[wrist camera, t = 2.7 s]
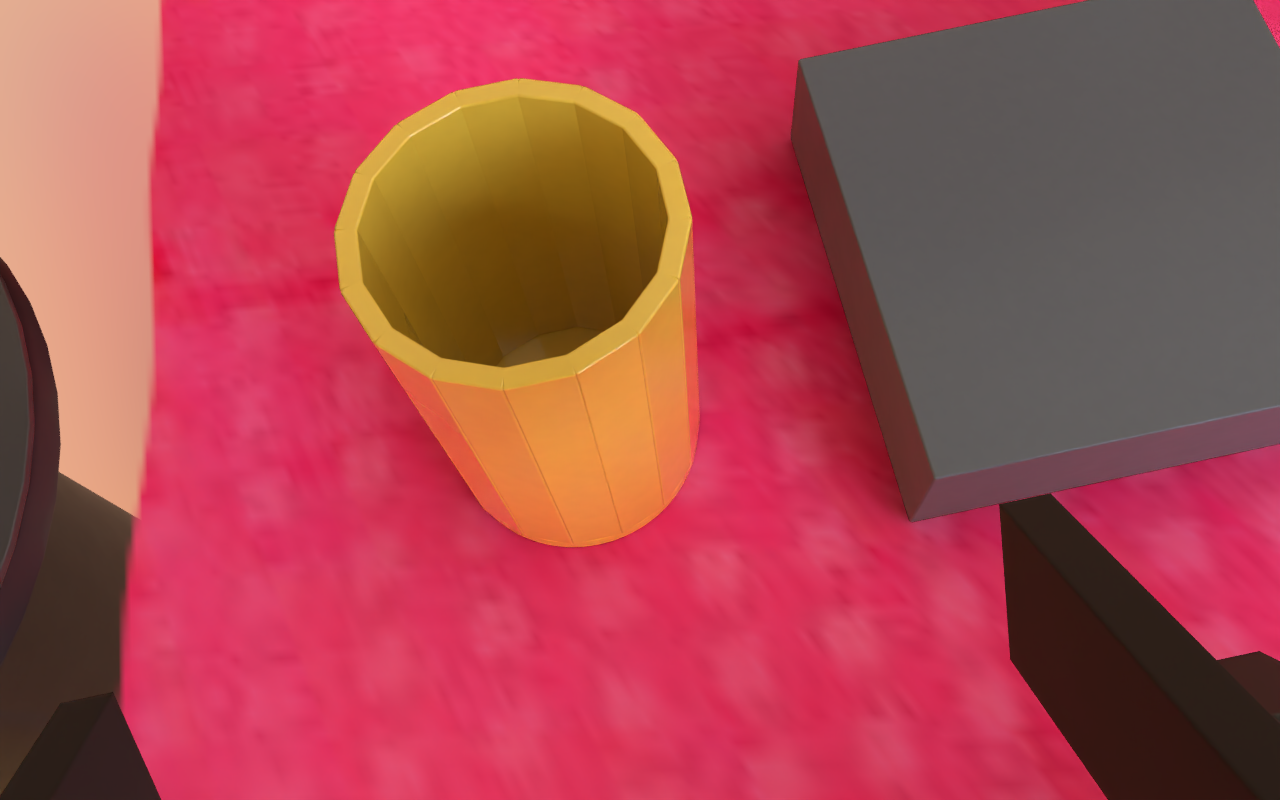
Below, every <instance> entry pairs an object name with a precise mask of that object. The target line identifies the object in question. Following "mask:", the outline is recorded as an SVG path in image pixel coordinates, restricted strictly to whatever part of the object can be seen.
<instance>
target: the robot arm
mask: <svg viewBox="0 0 1280 800" xmlns="http://www.w3.org/2000/svg"><path fill="white" fill-rule="evenodd" d="M999 506H1000V521H1001V535H1002V549H1003V563H1004V577H1005V591H1006V605H1007V619H1008V633H1009V647H1010V660H1011V661H1012V662H1013V664H1014V665H1015V667H1016V668H1017V670H1018V671H1019V672H1020V674H1021V675H1022V677H1023V678H1024V680H1025V681H1026V683H1027V684H1028V685H1029V687H1030V688H1031V690H1032V691H1033V693H1034V694H1035V695H1036V697H1037V698H1038V700H1039V701H1040V703H1041V704H1042V705H1043V707H1044V708H1045V710H1046V711H1047V713H1048V714H1049V716H1050V717H1051V718H1052V720H1053V721H1054V723H1055V724H1056V726H1057V727H1058V728H1059V730H1060V731H1061V733H1062V734H1063V736H1064V737H1065V739H1066V740H1067V741H1068V743H1069V744H1070V746H1071V747H1072V749H1073V750H1074V751H1075V753H1076V754H1077V756H1078V757H1079V759H1080V760H1081V761H1082V763H1083V764H1084V766H1085V767H1086V769H1087V770H1088V772H1089V773H1090V774H1091V776H1092V777H1093V779H1094V780H1095V782H1096V783H1097V784H1098V786H1099V787H1100V789H1101V790H1102V792H1103V793H1104V794H1105V796H1106V797H1107V799H1108V800H1280V661H1278V660H1276V659H1274V658H1272V657H1270V656H1268V655H1266V654H1264V653H1262V652H1260V651H1258V652H1253V653H1249V654H1244V655H1239V656H1235V657H1230V658H1225V659H1221V660H1216V659H1215V658H1214V657H1213V656H1212V655H1211V654H1210V653H1209V652H1208V651H1207V650H1206V649H1205V648H1204V647H1203V646H1202V645H1201V644H1200V643H1199V642H1198V641H1197V640H1196V639H1195V638H1194V637H1193V636H1192V635H1191V634H1190V633H1189V632H1188V631H1187V630H1186V629H1185V628H1184V627H1183V626H1182V625H1181V624H1180V623H1179V622H1178V621H1177V620H1176V619H1175V618H1174V617H1173V616H1172V615H1171V614H1170V613H1169V612H1168V611H1167V610H1166V609H1165V608H1164V607H1163V606H1162V605H1161V604H1160V603H1159V602H1158V601H1157V600H1156V599H1155V598H1154V597H1153V596H1152V595H1151V594H1150V593H1149V592H1148V591H1147V590H1146V589H1145V588H1144V587H1143V586H1142V585H1141V584H1140V583H1139V582H1138V581H1137V580H1136V579H1135V578H1134V577H1133V576H1132V575H1131V574H1130V573H1129V572H1128V571H1127V570H1126V569H1125V568H1124V567H1123V566H1122V565H1121V564H1120V563H1119V562H1118V561H1117V560H1116V559H1115V558H1114V557H1113V556H1112V555H1111V554H1110V553H1109V552H1108V551H1107V550H1106V549H1105V548H1104V547H1103V546H1102V545H1101V544H1100V543H1099V542H1098V541H1097V540H1096V539H1095V538H1094V537H1093V536H1092V535H1091V534H1090V533H1089V532H1088V531H1087V530H1086V529H1085V528H1084V527H1083V526H1082V525H1081V524H1080V523H1079V522H1078V521H1077V520H1076V519H1075V518H1074V517H1073V516H1072V515H1071V514H1070V513H1069V512H1068V511H1067V510H1066V509H1065V508H1064V507H1063V506H1062V505H1061V504H1060V503H1059V502H1058V501H1057V500H1056V499H1055V498H1054V497H1053V496H1052V495H1051V494H1045V495H1041V496H1036V497H1031V498H1027V499H1022V500H1017V501H1012V502H1008V503H1003V504H999ZM0 800H161V798H160V796H159V794H158V792H157V789H156V787H155V785H154V783H153V780H152V778H151V776H150V774H149V772H148V769H147V767H146V765H145V763H144V760H143V758H142V756H141V754H140V751H139V749H138V747H137V745H136V743H135V740H134V738H133V736H132V734H131V731H130V729H129V727H128V725H127V722H126V720H125V718H124V716H123V714H122V711H121V709H120V707H119V705H118V702H117V700H116V698H115V696H114V694H113V692H111V693H107V694H102V695H97V696H93V697H88V698H83V699H78V700H74V701H69V702H64V703H60V705H59V706H58V708H57V709H56V711H55V713H54V714H53V716H52V717H51V719H50V720H49V722H48V723H47V725H46V726H45V728H44V729H43V731H42V733H41V734H40V736H39V737H38V739H37V740H36V742H35V743H34V745H33V746H32V748H31V750H30V751H29V753H28V754H27V756H26V757H25V759H24V760H23V762H22V763H21V765H20V767H19V768H18V770H17V771H16V773H15V774H14V776H13V777H12V779H11V780H10V782H9V784H8V785H7V787H6V788H5V790H4V791H3V793H2V794H1V796H0Z"/></svg>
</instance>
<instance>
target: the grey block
mask: <svg viewBox="0 0 1280 800" xmlns="http://www.w3.org/2000/svg"><path fill="white" fill-rule="evenodd" d="M791 141H792V144H793V147H794V151H795V154H796V157H797V160H798V163H799V167H800V170H801V173H802V176H803V180H804V183H805V186H806V189H807V193H808V196H809V199H810V202H811V205H812V209H813V212H814V215H815V218H816V222H817V225H818V228H819V231H820V234H821V238H822V241H823V244H824V247H825V251H826V254H827V257H828V260H829V264H830V267H831V270H832V273H833V276H834V280H835V283H836V286H837V289H838V293H839V296H840V299H841V302H842V306H843V309H844V312H845V315H846V318H847V322H848V325H849V328H850V331H851V335H852V338H853V341H854V344H855V347H856V351H857V354H858V357H859V360H860V364H861V367H862V370H863V373H864V377H865V380H866V383H867V386H868V389H869V393H870V396H871V399H872V402H873V406H874V409H875V412H876V415H877V419H878V422H879V425H880V428H881V431H882V435H883V438H884V441H885V444H886V448H887V451H888V454H889V457H890V460H891V464H892V467H893V470H894V473H895V477H896V480H897V483H898V486H899V490H900V493H901V496H902V499H903V502H904V506H905V509H906V512H907V515H908V519H909V521H910V522H915V521H919V520H924V519H929V518H934V517H938V516H943V515H948V514H952V513H957V512H962V511H966V510H971V509H976V508H981V507H985V506H990V505H995V504H999V503H1004V502H1009V501H1013V500H1018V499H1023V498H1027V497H1032V496H1037V495H1042V494H1046V493H1051V492H1056V491H1060V490H1065V489H1070V488H1074V487H1079V486H1084V485H1089V484H1093V483H1098V482H1103V481H1107V480H1112V479H1117V478H1121V477H1126V476H1131V475H1135V474H1140V473H1145V472H1150V471H1154V470H1159V469H1164V468H1168V467H1173V466H1178V465H1182V464H1187V463H1192V462H1197V461H1201V460H1206V459H1211V458H1215V457H1220V456H1225V455H1229V454H1234V453H1239V452H1243V451H1248V450H1253V449H1258V448H1262V447H1267V446H1272V445H1276V444H1280V48H1279V46H1278V45H1277V43H1276V41H1275V39H1274V37H1273V35H1272V34H1271V32H1270V30H1269V28H1268V26H1267V24H1266V23H1265V21H1264V19H1263V17H1262V15H1261V14H1260V12H1259V10H1258V8H1257V6H1256V4H1255V3H1254V1H1253V0H1088V1H1083V2H1078V3H1073V4H1068V5H1063V6H1058V7H1053V8H1048V9H1044V10H1039V11H1034V12H1029V13H1024V14H1019V15H1014V16H1009V17H1005V18H1000V19H995V20H990V21H985V22H980V23H975V24H970V25H965V26H961V27H956V28H951V29H946V30H941V31H936V32H931V33H926V34H922V35H917V36H912V37H907V38H902V39H897V40H892V41H887V42H882V43H878V44H873V45H868V46H863V47H858V48H853V49H848V50H843V51H839V52H834V53H829V54H824V55H819V56H814V57H809V58H804V59H800V60H799V61H798V70H797V80H796V90H795V99H794V109H793V119H792V129H791Z"/></svg>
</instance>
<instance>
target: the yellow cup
mask: <svg viewBox="0 0 1280 800" xmlns="http://www.w3.org/2000/svg"><path fill="white" fill-rule="evenodd" d="M334 240H335V249H336V259H337V269H338V278H339V288H340V290H341V294H342V296H343V297H344V299H345V300H346V302H347V304H348V305H349V307H350V308H351V310H352V311H353V313H354V315H355V316H356V318H357V319H358V321H359V322H360V324H361V325H362V327H363V329H364V330H365V332H366V333H367V335H368V336H369V338H370V340H371V341H372V343H373V344H374V346H375V347H376V349H377V350H378V352H379V353H380V355H381V356H382V358H383V359H384V361H385V362H386V364H387V365H388V367H389V368H390V370H391V371H392V373H393V374H394V376H395V377H396V379H397V380H398V382H399V383H400V385H401V386H402V388H403V389H404V391H405V392H406V394H407V395H408V397H409V398H410V400H411V401H412V403H413V404H414V406H415V407H416V409H417V410H418V412H419V413H420V415H421V416H422V418H423V419H424V421H425V422H426V424H427V425H428V427H429V428H430V430H431V431H432V433H433V434H434V436H435V437H436V439H437V440H438V442H439V443H440V445H441V446H442V448H443V449H444V451H445V452H446V454H447V455H448V457H449V458H450V460H451V461H452V463H453V464H454V466H455V467H456V469H457V470H458V472H459V473H460V475H461V476H462V478H463V479H464V481H465V482H466V484H467V485H468V487H469V488H470V490H471V491H472V493H473V494H474V496H475V497H476V499H477V500H478V502H479V503H480V505H481V506H482V508H484V509H485V511H487V512H488V513H490V514H491V515H492V516H493V517H494V518H495V519H496V520H497V521H498V522H500V523H501V524H502V525H504V526H505V527H506V528H508V529H510V530H511V531H513V532H515V533H517V534H519V535H520V536H523V537H525V538H528V539H530V540H533V541H535V542H539V543H543V544H548V545H552V546H561V547H586V546H593V545H599V544H603V543H607V542H610V541H614V540H617V539H619V538H621V537H624V536H626V535H629V534H631V533H633V532H634V531H636V530H638V529H639V528H641V527H643V526H645V525H646V524H647V523H649V522H650V521H651V520H653V519H654V518H655V517H656V516H658V515H659V514H660V513H661V512H662V511H663V510H664V509H665V508H666V507H667V506H668V505H669V504H670V502H671V501H672V500H673V498H674V497H675V496H676V495H677V493H678V492H679V490H680V489H681V487H682V485H683V483H684V482H685V480H686V478H687V476H688V473H689V471H690V469H691V466H692V464H693V460H694V456H695V452H696V447H697V438H698V428H699V423H700V415H699V388H698V361H697V335H696V308H695V282H694V255H693V228H692V214H691V210H690V206H689V202H688V198H687V195H686V191H685V187H684V183H683V179H682V175H681V171H680V167H679V163H678V162H677V160H676V158H675V157H674V155H673V154H672V153H671V152H670V151H669V150H668V148H667V147H666V146H665V145H664V144H663V142H662V141H661V140H660V139H659V138H658V136H657V135H656V134H655V133H654V132H653V131H652V129H651V128H650V127H649V126H648V125H647V123H646V122H645V121H644V120H643V119H642V117H641V116H640V115H638V114H637V113H636V112H634V111H632V110H630V109H628V108H626V107H625V106H623V105H621V104H619V103H617V102H615V101H613V100H611V99H609V98H607V97H605V96H603V95H601V94H599V93H597V92H595V91H593V90H591V89H589V88H587V87H585V86H583V87H582V86H581V85H573V84H565V83H557V82H548V81H540V80H532V79H523V78H520V79H519V80H518V79H511V80H506V81H501V82H496V83H491V84H486V85H481V86H477V87H472V88H467V89H462V90H457V91H455V92H454V93H453V92H451V93H450V94H448V95H446V96H444V97H443V98H441V99H439V100H437V101H435V102H434V103H432V104H430V105H428V106H427V107H425V108H423V109H421V110H420V111H418V112H416V113H414V114H413V115H411V116H409V117H407V118H406V119H404V120H402V121H400V122H399V123H398V124H397V125H395V126H394V127H393V128H392V129H391V130H390V131H389V132H388V134H387V135H386V136H385V137H384V138H383V139H382V141H381V142H380V143H379V144H378V145H377V146H376V147H375V149H374V150H373V151H372V152H371V153H370V154H369V155H368V157H367V158H366V159H365V160H364V161H363V162H362V163H361V165H360V166H359V167H358V168H357V169H356V170H355V173H354V174H353V177H352V180H351V182H350V185H349V188H348V191H347V194H346V197H345V200H344V203H343V205H342V208H341V211H340V214H339V217H338V220H337V223H336V226H335V231H334Z"/></svg>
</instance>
